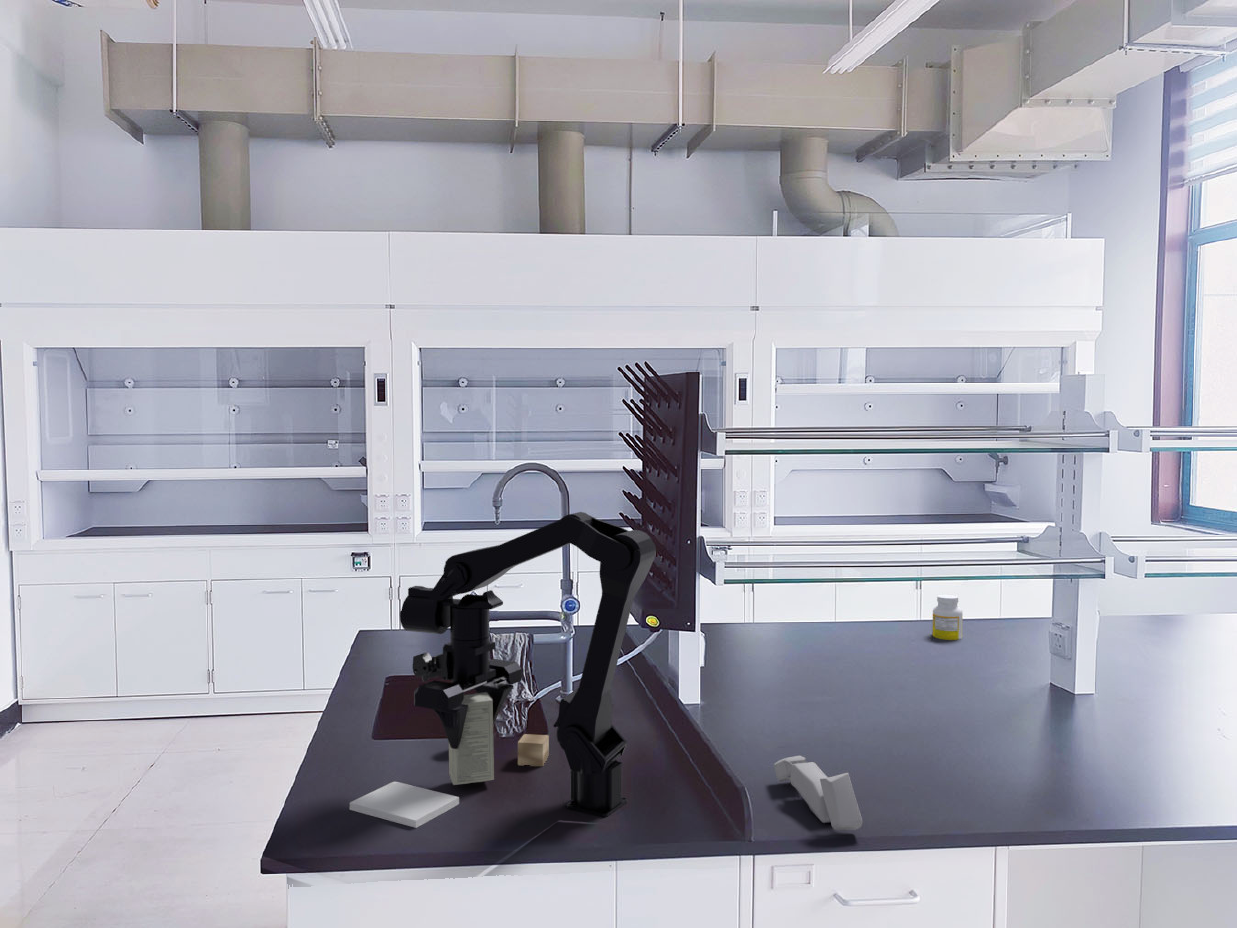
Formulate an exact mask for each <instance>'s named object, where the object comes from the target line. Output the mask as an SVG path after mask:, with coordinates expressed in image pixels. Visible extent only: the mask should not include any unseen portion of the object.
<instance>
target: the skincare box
mask: <svg viewBox="0 0 1237 928" xmlns="http://www.w3.org/2000/svg"><path fill="white" fill-rule="evenodd" d="M461 704H465V705H468V710H467V714H466V719H465V723H464V728H463V732H462V737H461V741H460V744H459V747H458V749H453V748H451V746H450V744H449V743H448V773H449V775H448V776H449V777H450V781H451V783H452V785H453V786H455V785H456V786H457V785H466V784H471V783H482V782H489V781H493V780H495V769H494V768H495V765H494V764H495V763H494V762H495V759H494V757H495V755H494V725H493V700H492V699H491V697H490V696H489V694H488V693H487V692H484V693H477V692H476V693H467V694H464V699H463V701H462V703H461Z"/></svg>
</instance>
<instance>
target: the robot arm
mask: <svg viewBox="0 0 1237 928" xmlns="http://www.w3.org/2000/svg"><path fill="white" fill-rule="evenodd" d="M567 545H573V546H575V547H577V549H579V550H580V551H581V552H582V553H584V554H585V555H587V556H588V557H589V558H592V559H593V560H595V561H598V562H599V573H598V574H599V580H600V589H601V597H600V601H599V605H598V609H597V614H596V618H595V620H594V621H595V622H594V626H593V628H592V634H591V638H590V641H589V645H588V650H587V652H586V653H587V654H586V657H585V660H584V661H585V662H584V665H583V669H582V672H581V673H582V674H581V678H580V681H579V686H578V687H577V688H576V689H574V691H571V692H570V693H568V694H567V695H565V696H564V697H562V698H561V699H560V702H559V706H558V708H559V709H558V716H557V719H556V721H555V723H554V724H553V725H552V726H553V728H557V729H556V741H557V743H559V745H560V748H561V749H562V750H563V751H564V753H565V756H566V759H567V763H568V765H569V766H568V767H569V769H570V773H569V774H570V776H569V777H570V779H569V781H570V785H569V786H570V789H569V790H570V791H569V793H570V794H569V795H570V796H569V797H570V800H571V801H569V802H568V803H567V804H566V808H567V809H569V810H572V811H575V812H582V813H585V814H590V815H594V816H598V817H601V818H606V817H609V816H610V815H611V814H612V813H614V812H616V811H617V810H618V809H620V808H621V807H623V806H624V805H625V804H626V803H628V797H624V796H623V763H622V762H621V761H618V760H617V759H618V758H619V757H621V756H623V755H624V753H625V750H626V747H627V744H628V741H627V740H626V739H625V738H624V737H623V735H622V734H621V733H620V732H619V731H618V729H617V728H616V727H615V726H614V725H613V724H612V723H613V722H612V721H613V710H614V708H613V701H612V693H611V692H612V691H611V688H612V684H613V681H614V677H615V673H616V670H617V666H618V661H619V659H620V658H619V657H620V653H621V649H622V645H623V642H624V638H625V635H626V630H627V627H628V622H629V618H630V614H631V611H632V607H633V603H634V599H635V597H636V595H637V593H638V592H639V589H640V588H641V586H642V584H644V582H645V579H646V578H647V576H648V574H649V571H650V570H651V568H652V565H653V562H654V560H655V558H656V556H657V555H656V553H657V547H656V544H655V543H654V541H653V539H652V537H651V536H650V535H649V534H647V533H646V532H644V531H642V530H638V529H633V530H628V529H625V528H624V527H621V526H620V525H617V524H613V523H610V522H607V521H603V520H601V519H598V518H596V517H594V516H592V515H589V514H588V513H586V512H582V511H579V512H575V513H574V512H573V513H569V514H566V515H564V516H563V517H561V518H560V519H559V520H557V521H553V522H552V523H549V524H548V523H547V524H546V525H544V526H541V527H539V528H537V529H534V530H531V531H530V532H527V533H525V534H522V535H521V536H518V537H515V538H513V539H511V540H507V541H506V542H504V543H501V544H498V545H492V546H486V547H483V548H477V549H474V550H469V551H465V552H461V553H458V554H454V555H452V556H449V557H448V558H447V559H446V560H445V563H444V566H443V574H442V575H441V577H440V578H439V580H438V581H437V582H436V584H435V586H434V587H425V586H421V585H414V586H413V585H412V586H411V587H408V588H407V596H406V597H405V598H404V601H403V603H402V605H401V610H400V612H399V620H400V626H401V627H402V628H403V630H405V631H407V632H413V633H414V632H415V633H425V634H435V635H436V634H437V635H442V634H445V633H446V632H447V630H448V629H449V634H450V635H449V636H450V637H449V638H450V639H449V640H450V641H449V642H448V643H445V644H443V646H442V653H440V654H436V655H434V656H431V654H430V653H429V652H428V651H426V652H423V653H419V654H417V655H414V656H412V657H413V658H412V666H411V667H412V672H413V675H414V676H415V677H416V678H420V677H421V680H422V682H424V684H422V685H418V687H417V688H416V689H415V690H414V691H413V697H414V698H413V701H414V702H413V704H414V706H415V707H419V708H425V709H429V710H432V711H433V712H434V713H435V714H437V716H438V718H439V720H440V722H441V725H442V727H443V730H444V732H445V736H446V738H447V741H448V745H449V744H450V746H451V748H453V749H458V747H459V744H460V741H461V737H462V732H463V728H464V723H465V719H466V714H467V710H468V705H465V704H461V703H462V701H463V699H464V695H465V693H466V692H470V691H472V690H475V692H476V693H484V692H487V693H488V694H489V696H490V697H491V699H492V700H493V726H494V724H495V723H496V720H497V718H498V717H499V714H500V712H501V710H502V708H503V706H504V704H505V702H506V700H507V698H508V696H509V694H510V692H511V691H512V690H514V684H517V683H519V682H521V681H522V679H523V671H522V667H521V666H520V665H519V663H518V662H517V661H511V660H504V659H499V658H493V659H490V657H491V656H490V653H491V651H493V650H495V649H496V642H495V641H490V610H493V609H496V608H499V607H501V606H503V605H504V601H503V600H502V599H500V598H499V596H497V595H496V594H495V593H494V591H493V590H492V589H490V590H488V591H484V592H483V593H482V594H472V593H471V594H470V592H473V591H477V590H479V589H482V588H486V587H487V586H489V585H490V584H492V583H494V582H495V581H497V580H498V579H499V578H501V577H502V576H504V575H505V574H507V572H509V571H510V570H511V569H513V568H515V567H517V566H519V565H522V564H524V563H526V562H529V561H531V560H534V559H536V558H539V557H541V556H543V555H546V554H548V553H551V552H554V551H556V550H558V549H560V548H563V547H566V546H567ZM466 593H467V594H466ZM462 594H465V595H463V596H462V597H461V598H460V599H459V598H454V597H455V596H458V595H462ZM438 677H440V680H445V681H448V680H451V682H445V681H440V680H432V681H429V679H434V678H438ZM428 681H429V682H428ZM425 682H426V683H425ZM507 683H508V684H507Z"/></svg>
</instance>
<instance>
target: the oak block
mask: <svg viewBox="0 0 1237 928" xmlns="http://www.w3.org/2000/svg"><path fill="white" fill-rule="evenodd" d="M549 739H550V735H547V734H533V733H532V734H531V733H530V734H529V733H523V735H522V736H521V737H520V739H519V740H518V741H517V765H518V766H524V765H530V766H529V767H541V766H543V767H544V765H545V764H546V762H547V760H548V759H549V757H548V756H549V755H550V754H549V752H550V749H549V747H550V746H549V741H550V740H549ZM547 758H548V759H547ZM545 761H546V762H545ZM544 763H545V764H544Z"/></svg>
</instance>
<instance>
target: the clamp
mask: <svg viewBox="0 0 1237 928" xmlns="http://www.w3.org/2000/svg"><path fill="white" fill-rule="evenodd" d="M773 767H774V768H773V769H774V772H775V777H776V779H777V780H778V781H779V782H786V781H790V784H791V786H792V787H793V788H795V789H796V791H797V792H798V793H799V794H800V796H801V797H802V798H803V800H804V801H805V803H806V804H807V806H808V807H809V810H810V811H811V812H812V813H813V815H815V816H816V817H817V819H818V820H819V821H820V822H821V823H823V824H826V823H827V824H828V823H831V827H832V829H833V830H834V831H837V832H838V831H839V832H840V831H853V830H855V831H856V830H858V829H860V828H862V825H863V818H862V815H861V811H860V808H859V805H858V800H857V798H856V795H855V792H854V788H853V785H852V782H851V778H850V773H849V772H845V773H840V774H837V775H833V776H829V777H828V776H827V775H826V774H825V773H824V771H822V770H821V768H820V767H819V766H818V765H817V764H816V762H813V761H810V762H807V760H806V757H804V756H802V755H794V756H790V757H789V756H788V757H785V758H783V759H779V760H777V762H775V763H774V764H773Z"/></svg>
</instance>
